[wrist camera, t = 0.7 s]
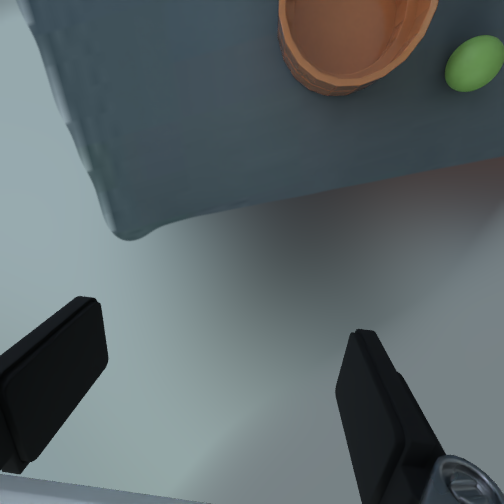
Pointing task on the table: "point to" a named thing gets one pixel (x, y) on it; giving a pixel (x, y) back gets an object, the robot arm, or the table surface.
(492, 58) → the pea ball
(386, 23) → the bowl
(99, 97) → the table surface
